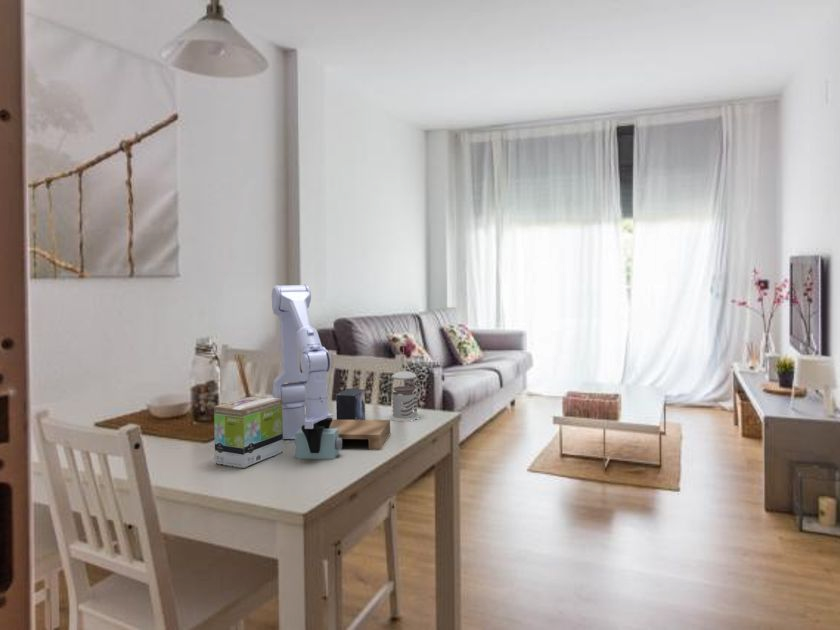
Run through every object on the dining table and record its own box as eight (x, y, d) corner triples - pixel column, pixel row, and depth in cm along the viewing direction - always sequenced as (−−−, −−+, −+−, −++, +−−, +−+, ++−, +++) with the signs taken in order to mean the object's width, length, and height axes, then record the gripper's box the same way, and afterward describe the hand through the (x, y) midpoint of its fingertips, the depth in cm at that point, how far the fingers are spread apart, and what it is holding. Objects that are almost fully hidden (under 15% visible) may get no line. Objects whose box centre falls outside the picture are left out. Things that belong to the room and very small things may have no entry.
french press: (383, 418, 192) (381, 341, 190) (409, 412, 200) (407, 338, 198) (404, 423, 185) (402, 343, 183) (430, 416, 193) (428, 340, 191)
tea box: (245, 469, 143) (243, 409, 142) (214, 464, 147) (211, 405, 147) (284, 452, 157) (282, 396, 156) (255, 448, 161) (252, 394, 160)
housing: (295, 458, 151) (295, 433, 151) (302, 452, 156) (301, 428, 156) (338, 459, 150) (338, 433, 149) (343, 453, 155) (342, 428, 154)
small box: (356, 429, 179) (355, 395, 178) (335, 428, 180) (334, 394, 179) (366, 420, 189) (365, 388, 188) (347, 420, 190) (346, 388, 190)
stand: (314, 448, 159) (313, 433, 159) (330, 432, 175) (329, 419, 175) (379, 449, 157) (379, 434, 157) (390, 433, 173) (390, 420, 173)
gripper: (323, 403, 144) (325, 458, 145) (339, 391, 159) (340, 441, 160) (295, 403, 145) (297, 457, 146) (313, 391, 160) (315, 441, 160)
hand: (318, 449), depth 153 cm, fingers closed on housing, 5 cm apart
